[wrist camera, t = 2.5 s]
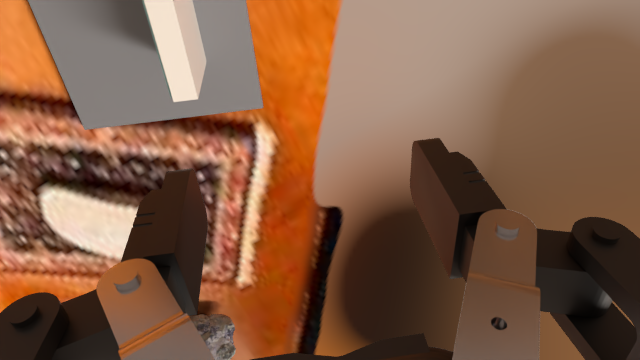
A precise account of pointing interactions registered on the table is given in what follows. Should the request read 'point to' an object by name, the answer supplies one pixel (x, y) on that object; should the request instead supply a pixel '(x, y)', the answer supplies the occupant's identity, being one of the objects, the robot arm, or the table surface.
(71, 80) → the mat
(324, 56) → the table surface
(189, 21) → the tile
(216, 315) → the mineral rock
